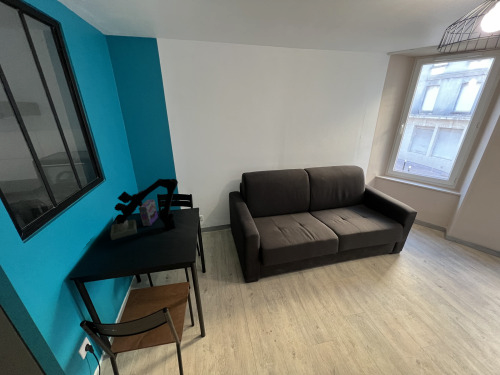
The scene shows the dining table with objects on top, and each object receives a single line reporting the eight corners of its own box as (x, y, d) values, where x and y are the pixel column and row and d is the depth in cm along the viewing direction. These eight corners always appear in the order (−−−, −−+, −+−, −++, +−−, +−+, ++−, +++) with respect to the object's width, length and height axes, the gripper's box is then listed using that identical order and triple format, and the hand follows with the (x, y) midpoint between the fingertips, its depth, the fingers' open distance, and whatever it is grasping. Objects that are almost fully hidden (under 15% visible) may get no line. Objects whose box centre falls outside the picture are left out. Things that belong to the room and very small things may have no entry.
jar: (130, 226, 143) (127, 216, 139) (126, 231, 137) (123, 221, 134) (121, 226, 142) (118, 217, 139) (117, 231, 136) (113, 221, 133)
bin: (136, 223, 150) (135, 219, 148) (136, 233, 138) (135, 228, 136) (113, 229, 143) (112, 225, 141) (112, 240, 131) (110, 235, 129)
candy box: (150, 226, 146) (145, 207, 140) (143, 226, 146) (137, 207, 140) (158, 216, 159) (154, 199, 153) (151, 216, 159) (147, 199, 153)
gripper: (127, 194, 140) (115, 209, 143) (113, 206, 122) (101, 222, 125) (141, 203, 143) (129, 217, 146) (129, 215, 126) (117, 231, 129)
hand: (119, 221), depth 137 cm, fingers closed on jar, 6 cm apart
